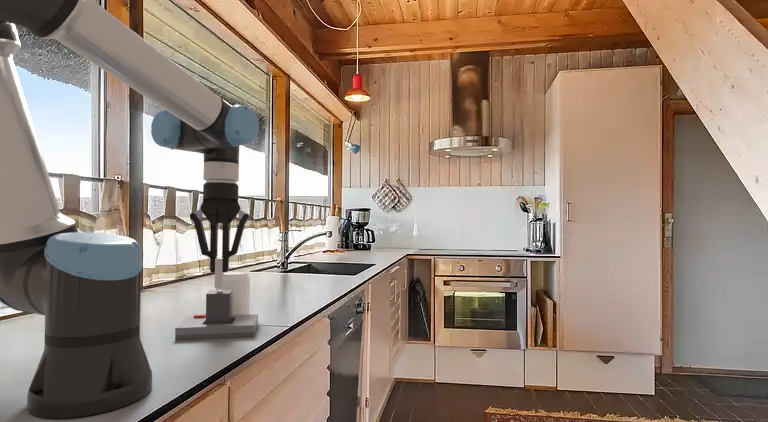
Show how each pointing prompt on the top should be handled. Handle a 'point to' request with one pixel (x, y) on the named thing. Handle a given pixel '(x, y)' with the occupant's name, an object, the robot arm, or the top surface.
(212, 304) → the dark grey upright block
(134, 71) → the robot arm
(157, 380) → the top surface
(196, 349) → the top surface
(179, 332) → the socket faceplate
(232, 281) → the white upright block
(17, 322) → the top surface
